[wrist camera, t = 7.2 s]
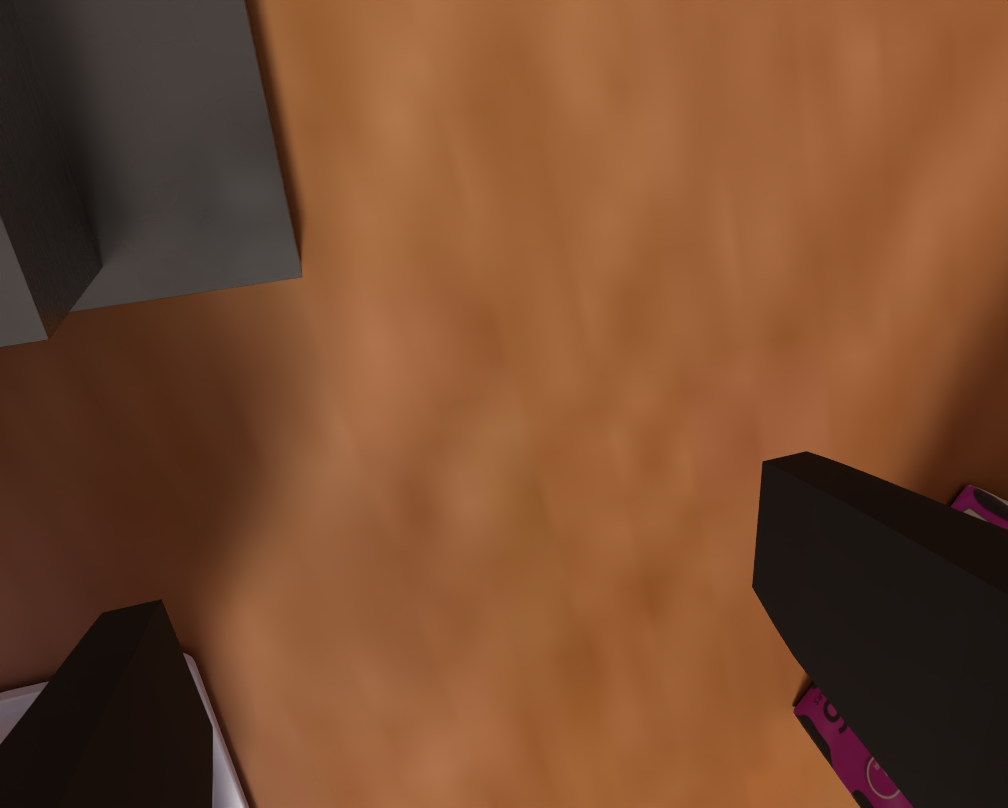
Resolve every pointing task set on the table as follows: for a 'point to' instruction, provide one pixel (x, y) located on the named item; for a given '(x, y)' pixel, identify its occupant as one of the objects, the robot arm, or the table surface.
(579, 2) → the table surface
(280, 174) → the jack housing
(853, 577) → the robot arm
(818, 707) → the candy bar box
